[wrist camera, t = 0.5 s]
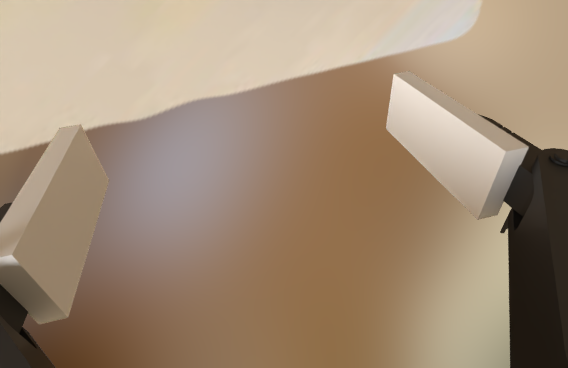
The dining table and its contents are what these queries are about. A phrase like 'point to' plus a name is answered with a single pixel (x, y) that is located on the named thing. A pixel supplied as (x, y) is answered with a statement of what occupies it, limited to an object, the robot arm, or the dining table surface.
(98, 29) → the dining table surface
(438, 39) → the dining table surface
